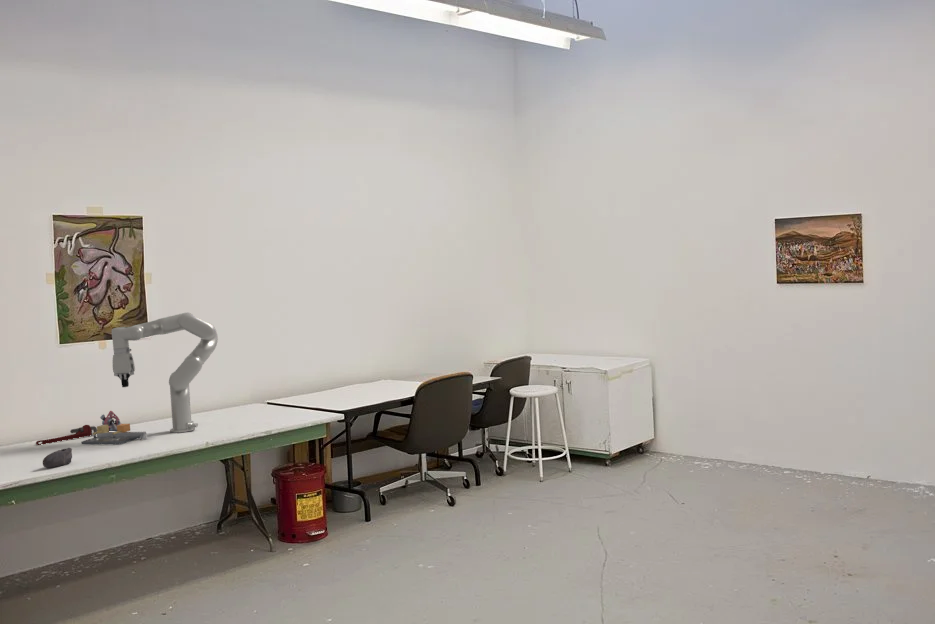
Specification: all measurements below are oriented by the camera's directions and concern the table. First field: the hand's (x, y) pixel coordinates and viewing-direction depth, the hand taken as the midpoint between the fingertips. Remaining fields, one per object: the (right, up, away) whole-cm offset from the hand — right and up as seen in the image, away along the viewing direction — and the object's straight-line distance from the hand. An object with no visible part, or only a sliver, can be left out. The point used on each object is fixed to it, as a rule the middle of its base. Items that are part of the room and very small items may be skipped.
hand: (125, 386), depth 444 cm
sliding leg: (+1, -24, -10) cm, 26 cm away
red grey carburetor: (-16, -26, +20) cm, 36 cm away
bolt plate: (-1, -26, -11) cm, 29 cm away
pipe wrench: (-29, -28, -1) cm, 40 cm away
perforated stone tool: (-4, -29, -65) cm, 71 cm away
